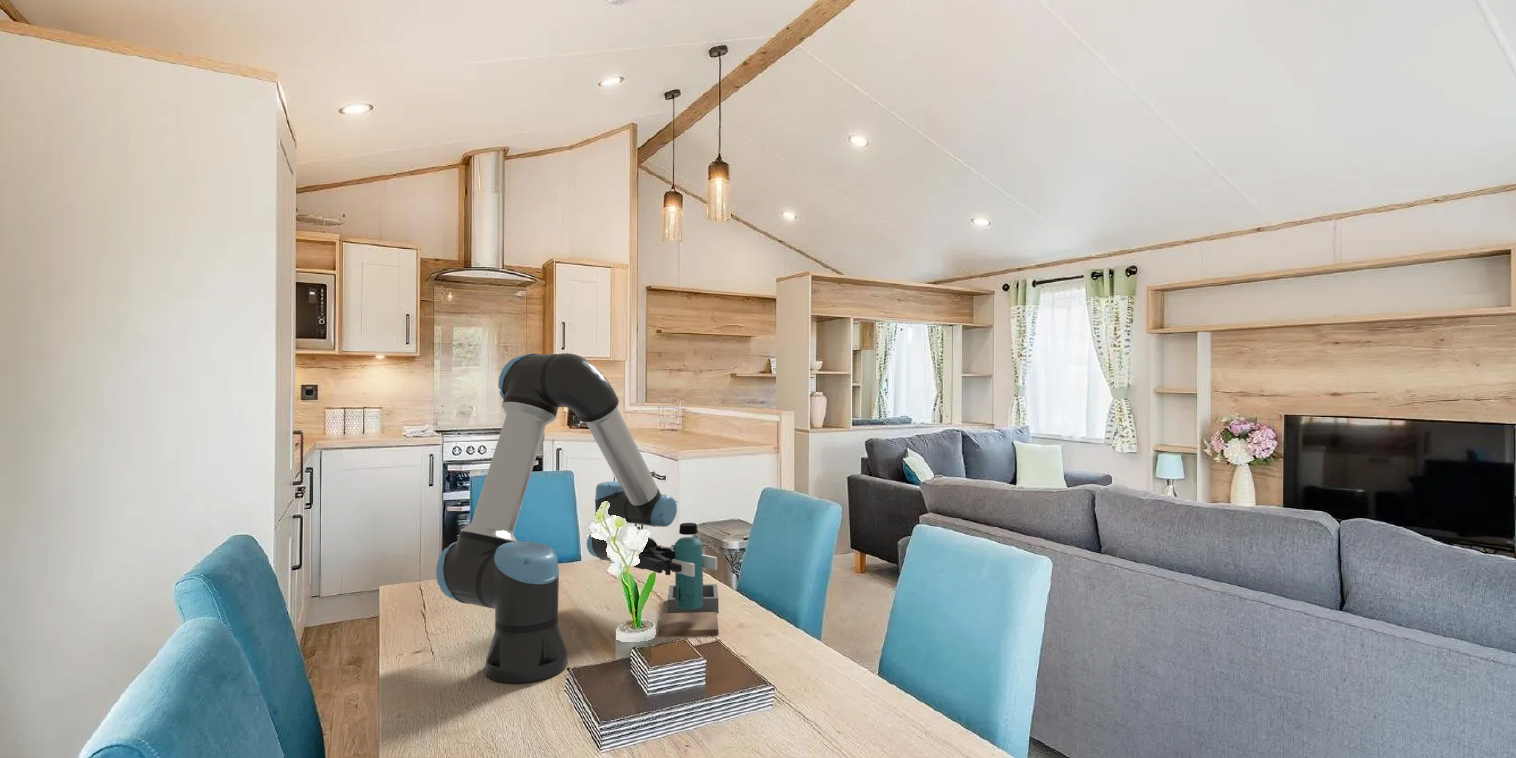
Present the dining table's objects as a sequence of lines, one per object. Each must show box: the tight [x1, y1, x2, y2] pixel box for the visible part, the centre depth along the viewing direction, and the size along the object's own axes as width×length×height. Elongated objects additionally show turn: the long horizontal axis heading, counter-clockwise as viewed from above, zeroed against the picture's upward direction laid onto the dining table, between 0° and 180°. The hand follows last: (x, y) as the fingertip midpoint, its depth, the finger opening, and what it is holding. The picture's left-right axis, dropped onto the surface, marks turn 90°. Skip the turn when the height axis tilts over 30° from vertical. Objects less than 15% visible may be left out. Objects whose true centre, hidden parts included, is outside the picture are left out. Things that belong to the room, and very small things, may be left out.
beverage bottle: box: [674, 522, 704, 609], centre depth 165 cm, size 6×7×20 cm
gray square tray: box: [667, 583, 719, 614], centre depth 180 cm, size 12×12×4 cm
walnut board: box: [657, 612, 719, 638], centre depth 165 cm, size 13×12×1 cm
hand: (704, 566), depth 162 cm, fingers closed on beverage bottle, 6 cm apart
